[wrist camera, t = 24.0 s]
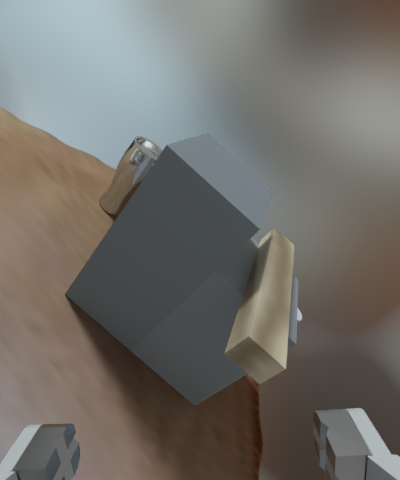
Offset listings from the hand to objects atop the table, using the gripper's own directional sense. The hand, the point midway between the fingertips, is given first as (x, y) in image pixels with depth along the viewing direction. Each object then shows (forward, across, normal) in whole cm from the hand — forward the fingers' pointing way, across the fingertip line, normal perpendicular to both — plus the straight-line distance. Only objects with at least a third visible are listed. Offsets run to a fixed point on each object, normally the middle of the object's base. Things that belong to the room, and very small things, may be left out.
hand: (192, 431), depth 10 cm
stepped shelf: (+34, -10, -15) cm, 39 cm away
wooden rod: (+25, +6, -7) cm, 26 cm away
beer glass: (+52, -19, +1) cm, 55 cm away
